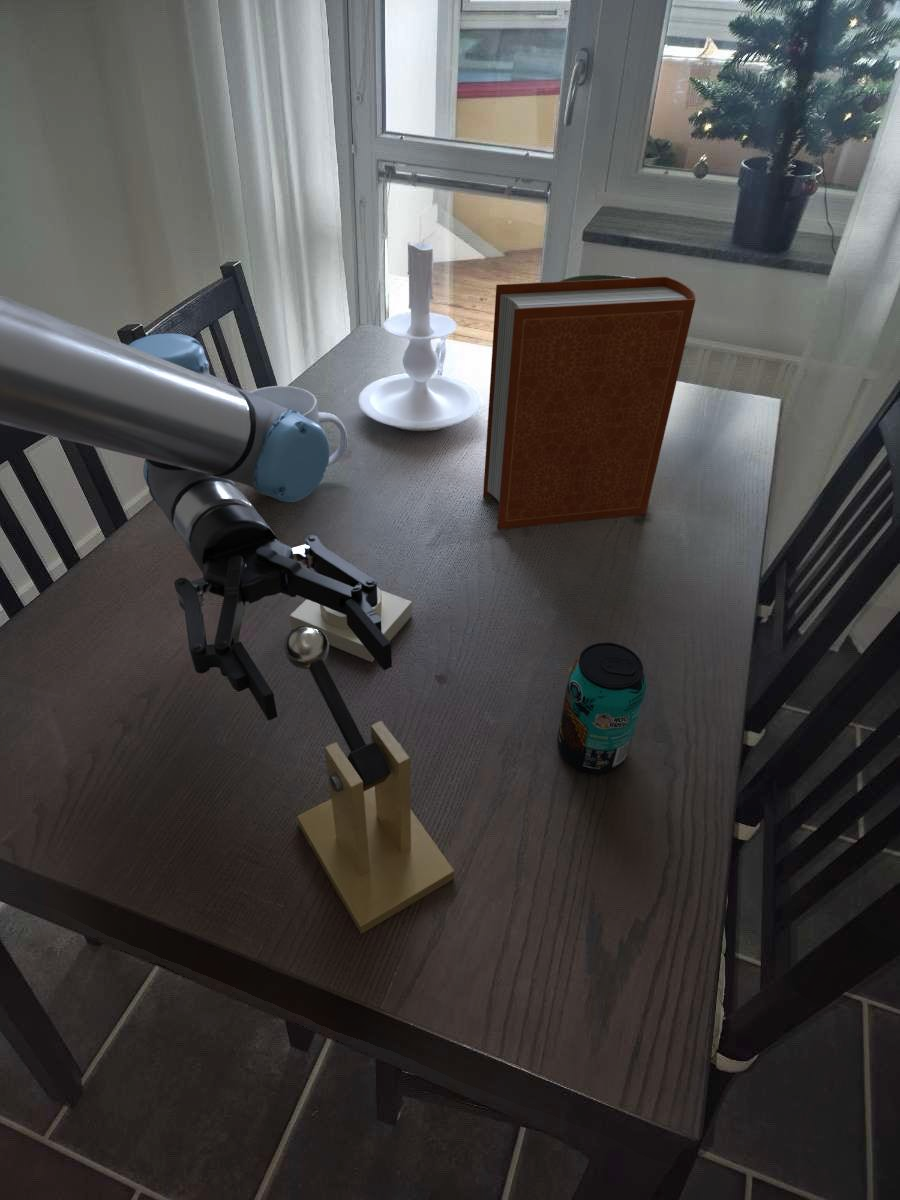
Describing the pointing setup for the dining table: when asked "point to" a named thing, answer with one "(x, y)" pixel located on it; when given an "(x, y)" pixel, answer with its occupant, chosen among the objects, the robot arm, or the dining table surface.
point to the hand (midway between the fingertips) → (331, 681)
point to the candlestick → (420, 363)
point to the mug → (304, 410)
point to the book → (581, 396)
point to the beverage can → (601, 707)
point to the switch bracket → (373, 837)
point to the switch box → (339, 633)
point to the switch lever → (335, 702)
